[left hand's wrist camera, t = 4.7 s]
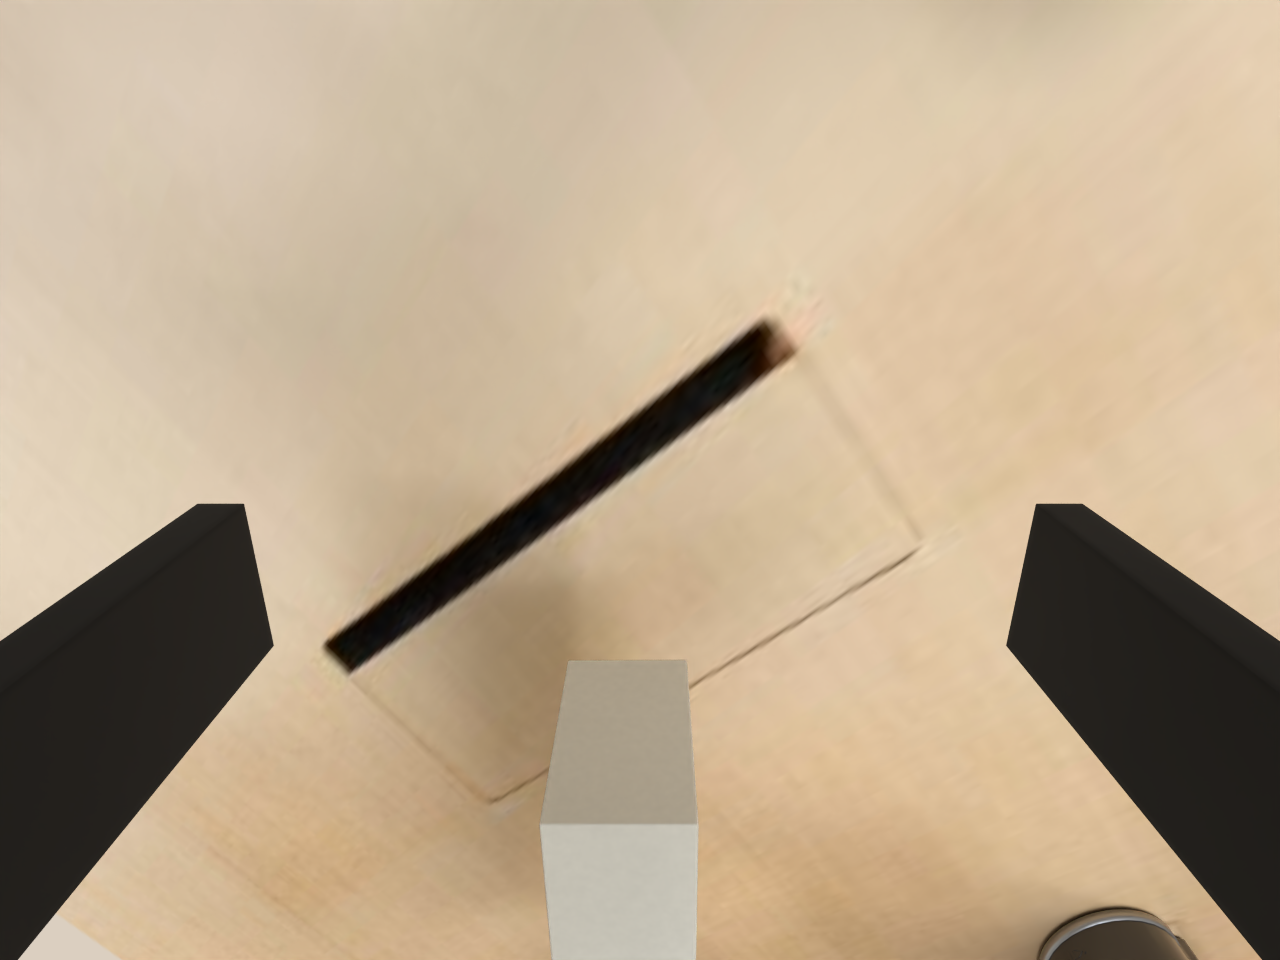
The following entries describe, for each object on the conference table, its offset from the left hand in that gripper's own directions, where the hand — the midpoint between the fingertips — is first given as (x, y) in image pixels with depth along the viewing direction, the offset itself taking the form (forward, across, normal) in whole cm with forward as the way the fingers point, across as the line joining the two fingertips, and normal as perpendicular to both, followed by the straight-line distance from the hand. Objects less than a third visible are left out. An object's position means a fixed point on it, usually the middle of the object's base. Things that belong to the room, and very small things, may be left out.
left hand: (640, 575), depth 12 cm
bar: (+18, 0, -26) cm, 32 cm away
